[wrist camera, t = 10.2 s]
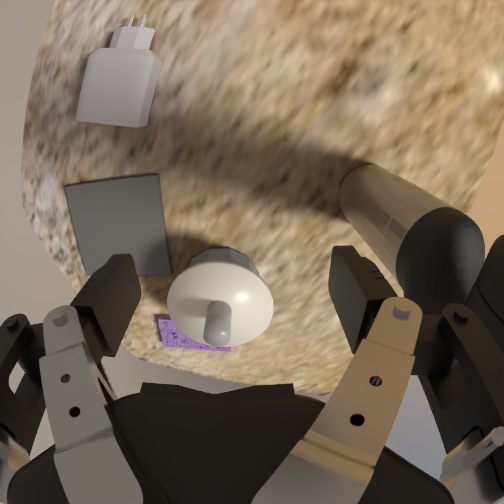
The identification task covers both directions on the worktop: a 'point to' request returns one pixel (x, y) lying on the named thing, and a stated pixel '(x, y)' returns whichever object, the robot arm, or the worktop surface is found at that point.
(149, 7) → the worktop surface
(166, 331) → the sponges
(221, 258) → the bowl
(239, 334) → the lid
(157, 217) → the mat
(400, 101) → the worktop surface
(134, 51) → the charger
